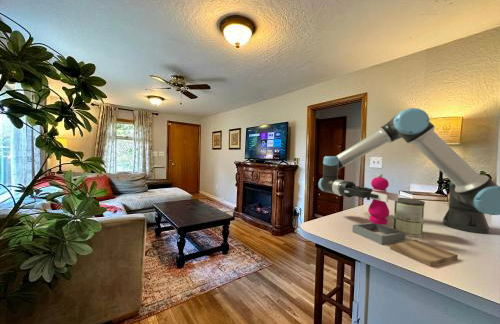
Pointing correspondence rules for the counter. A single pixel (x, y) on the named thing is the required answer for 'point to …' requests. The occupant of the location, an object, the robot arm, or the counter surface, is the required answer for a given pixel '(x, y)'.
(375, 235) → the holder
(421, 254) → the board
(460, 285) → the counter surface
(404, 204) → the coffee can
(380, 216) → the pepper mill
